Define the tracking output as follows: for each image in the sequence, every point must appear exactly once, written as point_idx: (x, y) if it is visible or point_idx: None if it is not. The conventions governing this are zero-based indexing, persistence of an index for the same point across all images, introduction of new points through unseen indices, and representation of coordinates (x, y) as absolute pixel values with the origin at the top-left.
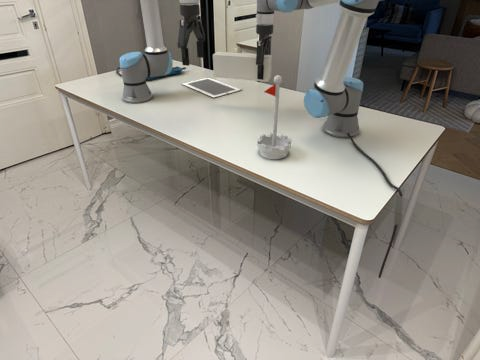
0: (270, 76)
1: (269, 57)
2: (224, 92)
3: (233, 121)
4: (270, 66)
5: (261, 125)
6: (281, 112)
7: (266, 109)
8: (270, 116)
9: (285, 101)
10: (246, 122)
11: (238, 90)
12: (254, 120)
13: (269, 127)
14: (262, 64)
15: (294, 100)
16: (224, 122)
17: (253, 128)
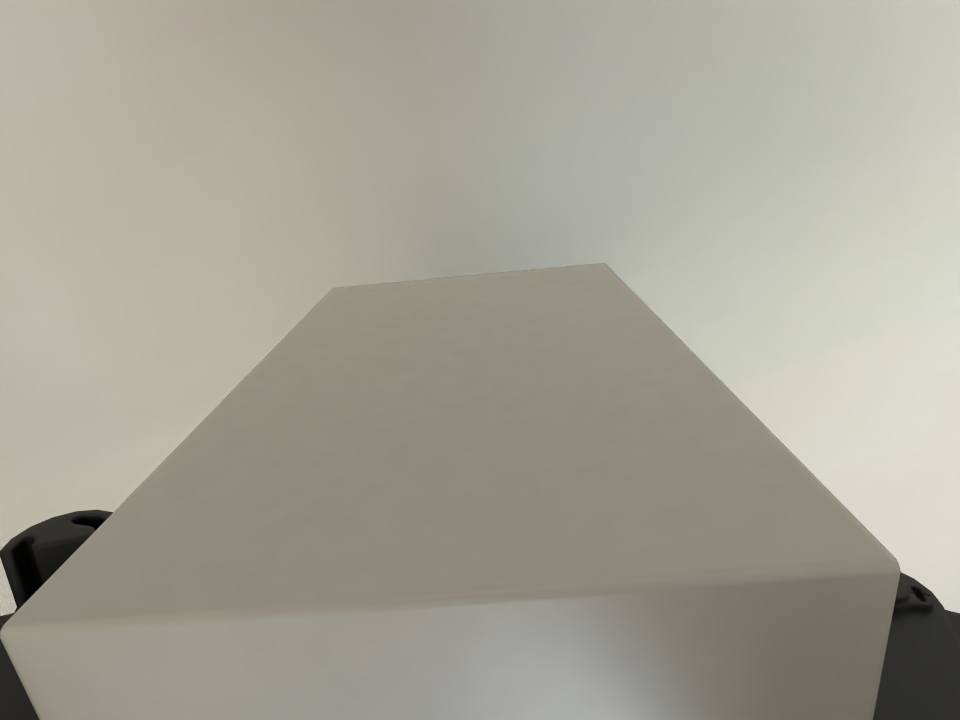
0: (372, 293)
1: (635, 596)
2: None
3: (795, 413)
4: (383, 371)
5: (837, 150)
6: (440, 53)
7: (423, 238)
8: (590, 137)
9: (101, 111)
10: (794, 306)
11: None
12: (732, 255)
13: (872, 53)
14: (898, 584)
15: (6, 11)
16: (830, 468)
17: (919, 199)
